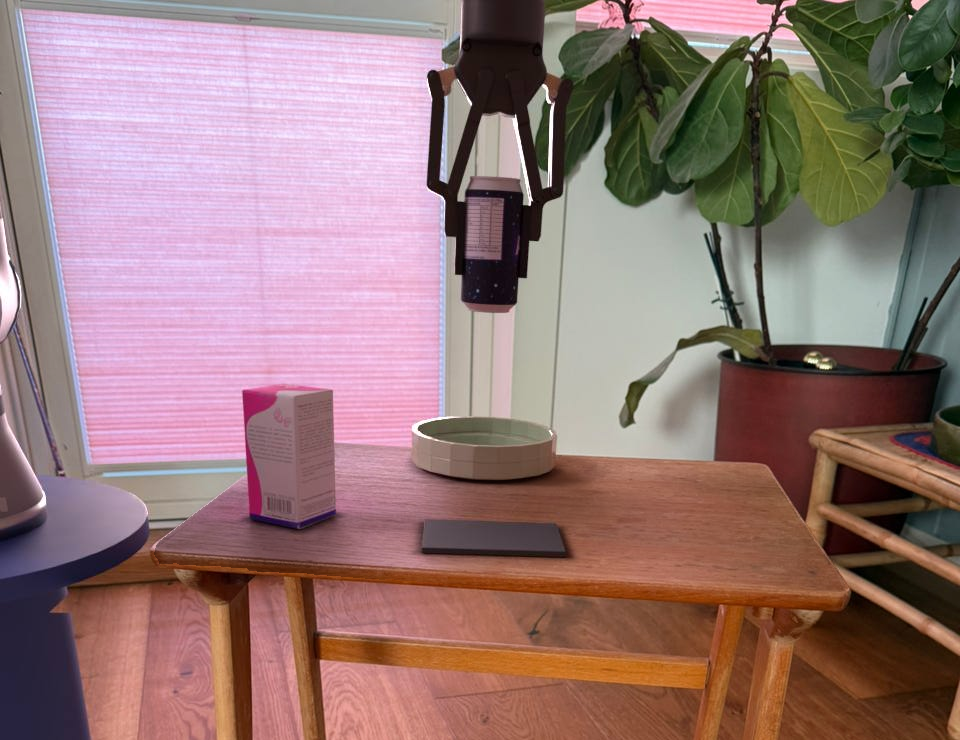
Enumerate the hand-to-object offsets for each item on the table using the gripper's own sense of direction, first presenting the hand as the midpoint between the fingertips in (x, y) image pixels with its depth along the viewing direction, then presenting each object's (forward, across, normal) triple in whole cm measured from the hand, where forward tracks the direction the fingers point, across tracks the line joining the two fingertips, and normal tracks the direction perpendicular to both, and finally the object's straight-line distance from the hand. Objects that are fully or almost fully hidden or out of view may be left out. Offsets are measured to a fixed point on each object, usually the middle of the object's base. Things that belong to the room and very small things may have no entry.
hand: (490, 275), depth 90 cm
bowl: (+20, -1, -6) cm, 21 cm away
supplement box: (+21, +18, +16) cm, 32 cm away
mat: (+20, 0, +22) cm, 30 cm away
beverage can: (+4, 0, 0) cm, 4 cm away
